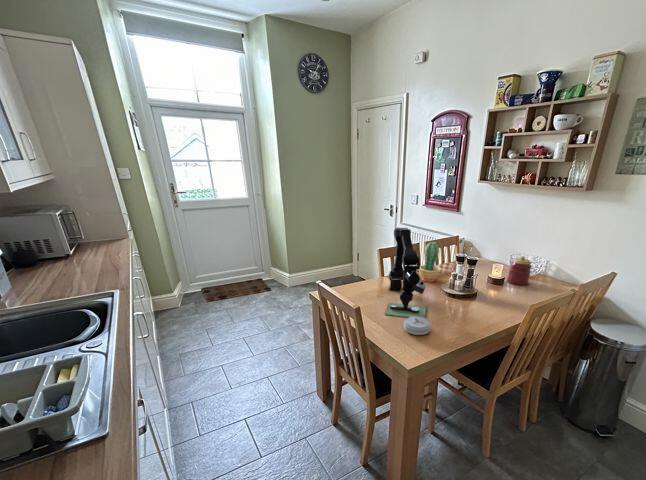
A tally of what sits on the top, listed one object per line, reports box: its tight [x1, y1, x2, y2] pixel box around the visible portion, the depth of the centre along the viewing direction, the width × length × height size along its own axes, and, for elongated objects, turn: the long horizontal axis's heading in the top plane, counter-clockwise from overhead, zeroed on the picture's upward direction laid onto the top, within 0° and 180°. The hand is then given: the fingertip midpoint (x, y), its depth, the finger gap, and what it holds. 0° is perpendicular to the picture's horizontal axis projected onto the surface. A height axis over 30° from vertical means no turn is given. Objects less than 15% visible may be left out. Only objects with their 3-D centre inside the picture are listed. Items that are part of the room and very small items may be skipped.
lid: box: [403, 316, 432, 336], centre depth 153 cm, size 13×13×5 cm
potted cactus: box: [418, 241, 442, 283], centre depth 213 cm, size 15×15×25 cm
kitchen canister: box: [506, 255, 533, 286], centre depth 214 cm, size 13×13×18 cm
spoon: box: [390, 306, 420, 313], centre depth 172 cm, size 16×5×2 cm, turn 78°
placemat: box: [385, 302, 427, 319], centre depth 173 cm, size 20×14×1 cm
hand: (406, 305), depth 171 cm, fingers open, 9 cm apart
